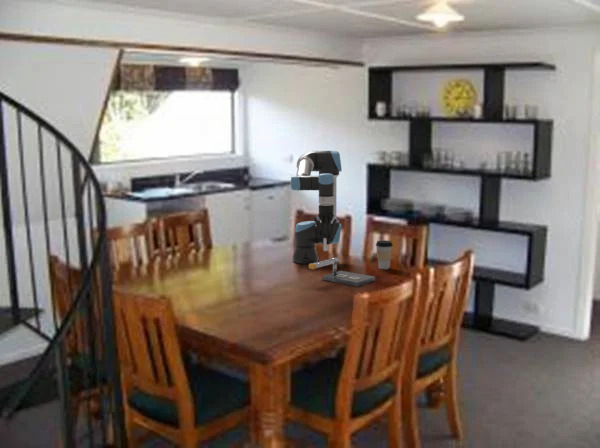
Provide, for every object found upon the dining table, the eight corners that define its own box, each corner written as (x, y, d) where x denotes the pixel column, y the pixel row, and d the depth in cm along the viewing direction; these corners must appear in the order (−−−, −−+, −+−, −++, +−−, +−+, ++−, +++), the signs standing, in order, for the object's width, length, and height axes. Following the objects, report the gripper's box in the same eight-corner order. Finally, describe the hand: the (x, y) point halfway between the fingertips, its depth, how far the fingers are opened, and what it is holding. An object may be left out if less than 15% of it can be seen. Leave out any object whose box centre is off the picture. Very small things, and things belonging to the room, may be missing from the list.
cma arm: (334, 261, 350) (334, 257, 350) (340, 262, 347) (340, 258, 347) (308, 268, 334) (308, 263, 334) (314, 269, 331) (314, 265, 331)
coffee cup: (392, 266, 374) (392, 240, 372) (392, 270, 365) (393, 243, 362) (375, 266, 375) (375, 240, 373) (375, 269, 366) (375, 243, 363)
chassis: (322, 279, 344) (322, 264, 342) (340, 274, 356) (340, 259, 355) (357, 286, 330) (357, 270, 328) (375, 280, 342) (375, 265, 341)
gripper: (311, 204, 332) (311, 250, 336) (334, 206, 325) (334, 253, 329) (318, 202, 338) (318, 247, 342) (341, 204, 332) (340, 250, 336)
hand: (326, 250), depth 336 cm, fingers closed
